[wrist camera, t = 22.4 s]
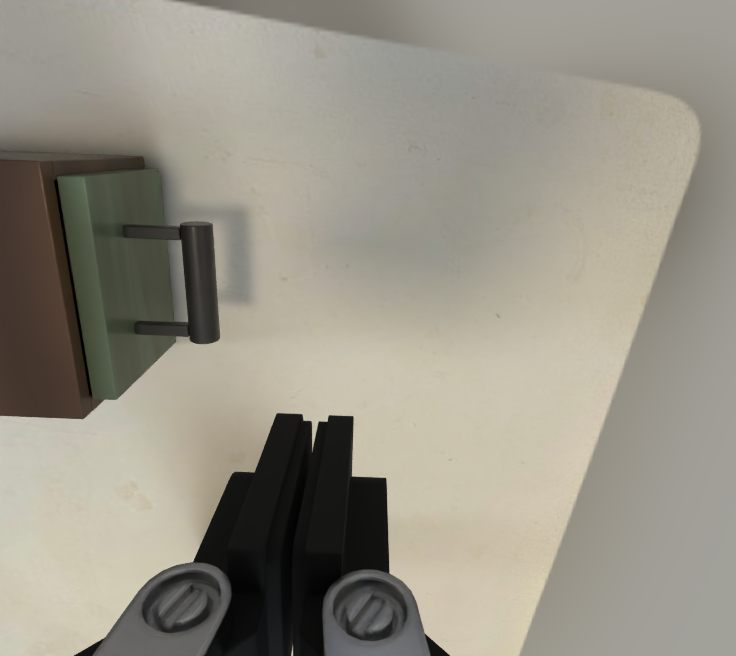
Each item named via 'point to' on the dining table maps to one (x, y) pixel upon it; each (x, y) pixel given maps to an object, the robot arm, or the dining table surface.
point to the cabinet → (41, 288)
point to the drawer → (131, 274)
